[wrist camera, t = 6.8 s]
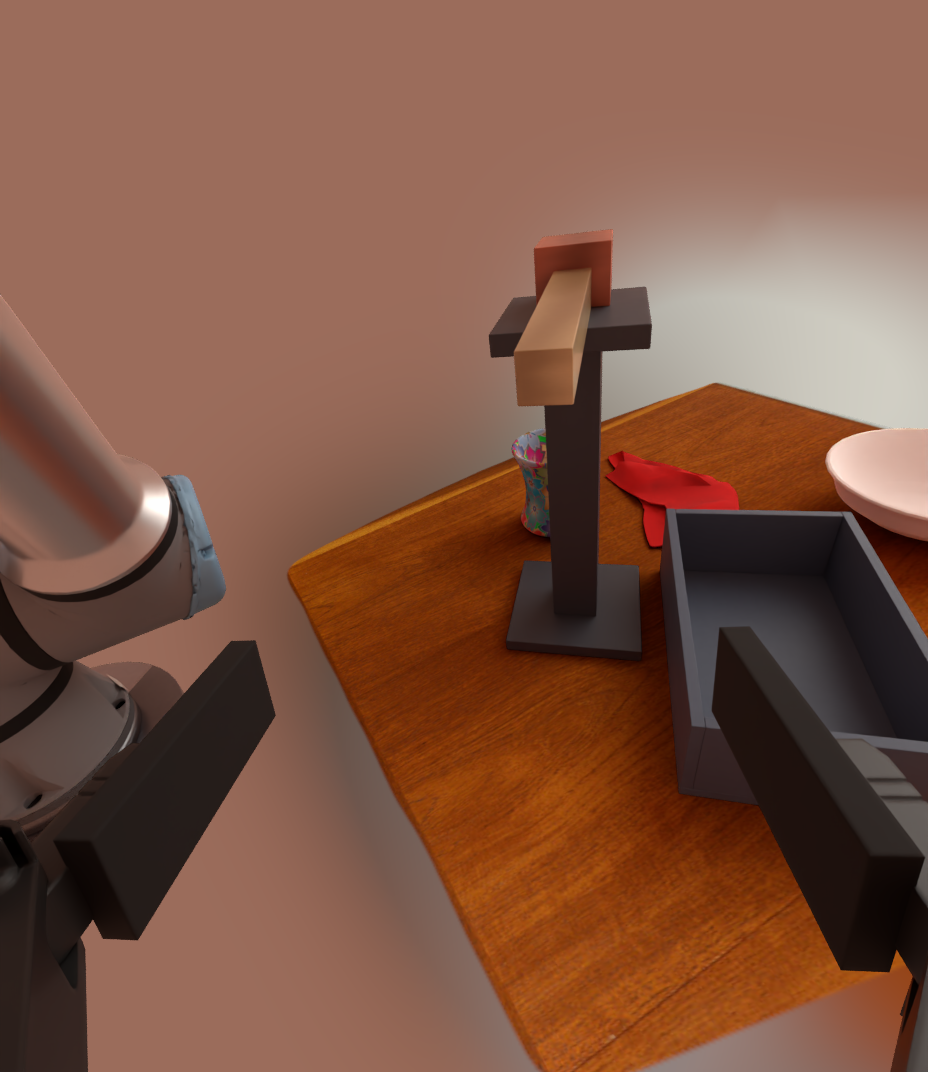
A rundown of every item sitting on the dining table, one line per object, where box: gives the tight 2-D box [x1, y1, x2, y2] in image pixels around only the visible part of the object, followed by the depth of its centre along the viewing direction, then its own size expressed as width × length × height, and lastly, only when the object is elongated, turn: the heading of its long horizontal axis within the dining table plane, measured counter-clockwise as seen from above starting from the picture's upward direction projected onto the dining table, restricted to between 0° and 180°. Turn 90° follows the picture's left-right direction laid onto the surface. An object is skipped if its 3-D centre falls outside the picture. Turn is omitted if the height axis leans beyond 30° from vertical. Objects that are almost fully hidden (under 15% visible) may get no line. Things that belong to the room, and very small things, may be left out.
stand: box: [489, 287, 652, 661], centre depth 45 cm, size 12×12×28 cm
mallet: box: [514, 229, 613, 406], centre depth 31 cm, size 5×22×4 cm, turn 167°
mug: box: [512, 428, 550, 537], centre depth 62 cm, size 12×9×11 cm
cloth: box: [606, 451, 739, 547], centre depth 66 cm, size 26×14×2 cm, turn 3°
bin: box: [660, 509, 928, 805], centre depth 43 cm, size 16×25×8 cm, turn 167°
